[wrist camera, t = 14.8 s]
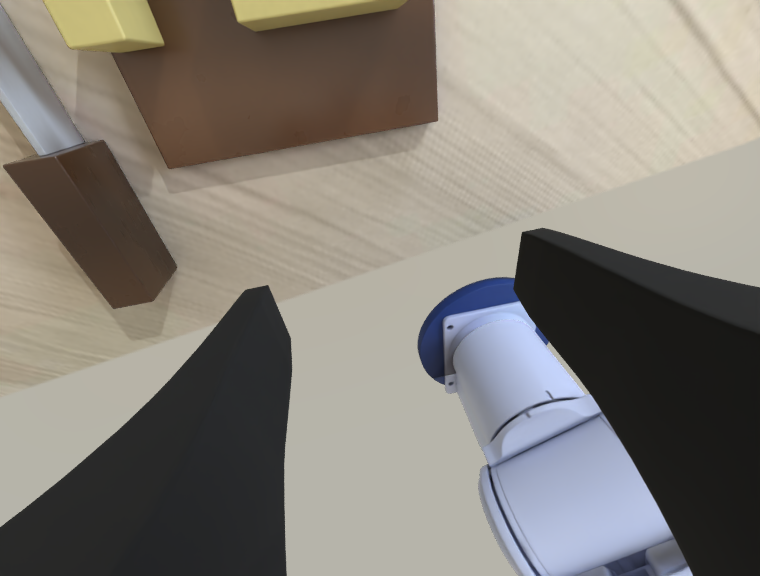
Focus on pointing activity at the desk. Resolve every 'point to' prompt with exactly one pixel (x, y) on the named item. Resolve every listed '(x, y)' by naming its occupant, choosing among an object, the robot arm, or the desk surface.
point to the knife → (79, 186)
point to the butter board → (279, 79)
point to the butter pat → (105, 24)
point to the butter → (303, 11)
